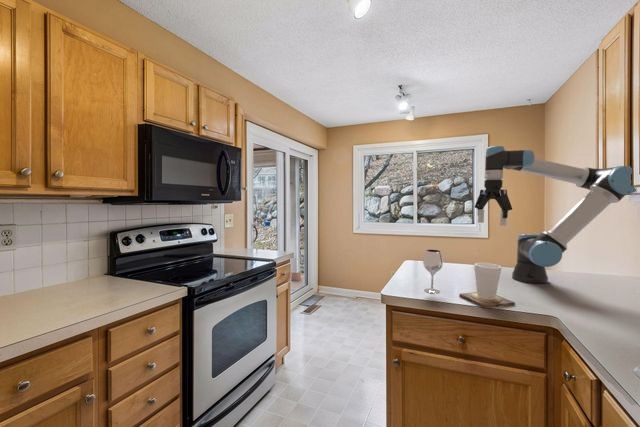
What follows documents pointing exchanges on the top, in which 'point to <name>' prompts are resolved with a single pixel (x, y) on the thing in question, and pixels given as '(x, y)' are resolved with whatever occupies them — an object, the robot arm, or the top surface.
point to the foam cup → (487, 280)
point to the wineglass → (432, 266)
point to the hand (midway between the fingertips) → (491, 224)
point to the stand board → (484, 302)
